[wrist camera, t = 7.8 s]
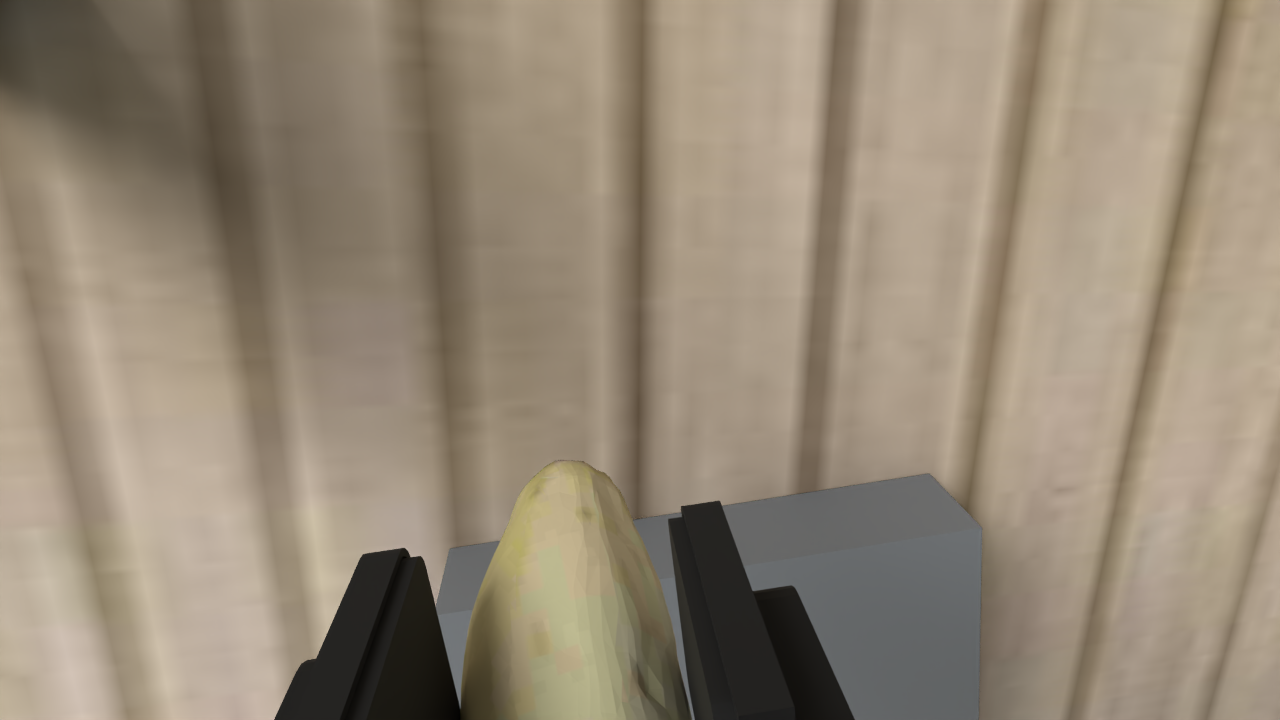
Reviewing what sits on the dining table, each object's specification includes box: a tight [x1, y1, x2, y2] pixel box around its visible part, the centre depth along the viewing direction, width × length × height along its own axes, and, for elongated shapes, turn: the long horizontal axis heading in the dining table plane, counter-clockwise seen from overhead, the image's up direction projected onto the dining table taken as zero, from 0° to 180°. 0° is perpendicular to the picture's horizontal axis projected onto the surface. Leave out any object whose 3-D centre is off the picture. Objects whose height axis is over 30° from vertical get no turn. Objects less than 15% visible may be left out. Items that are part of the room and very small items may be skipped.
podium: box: [436, 474, 982, 720], centre depth 30 cm, size 18×14×4 cm
